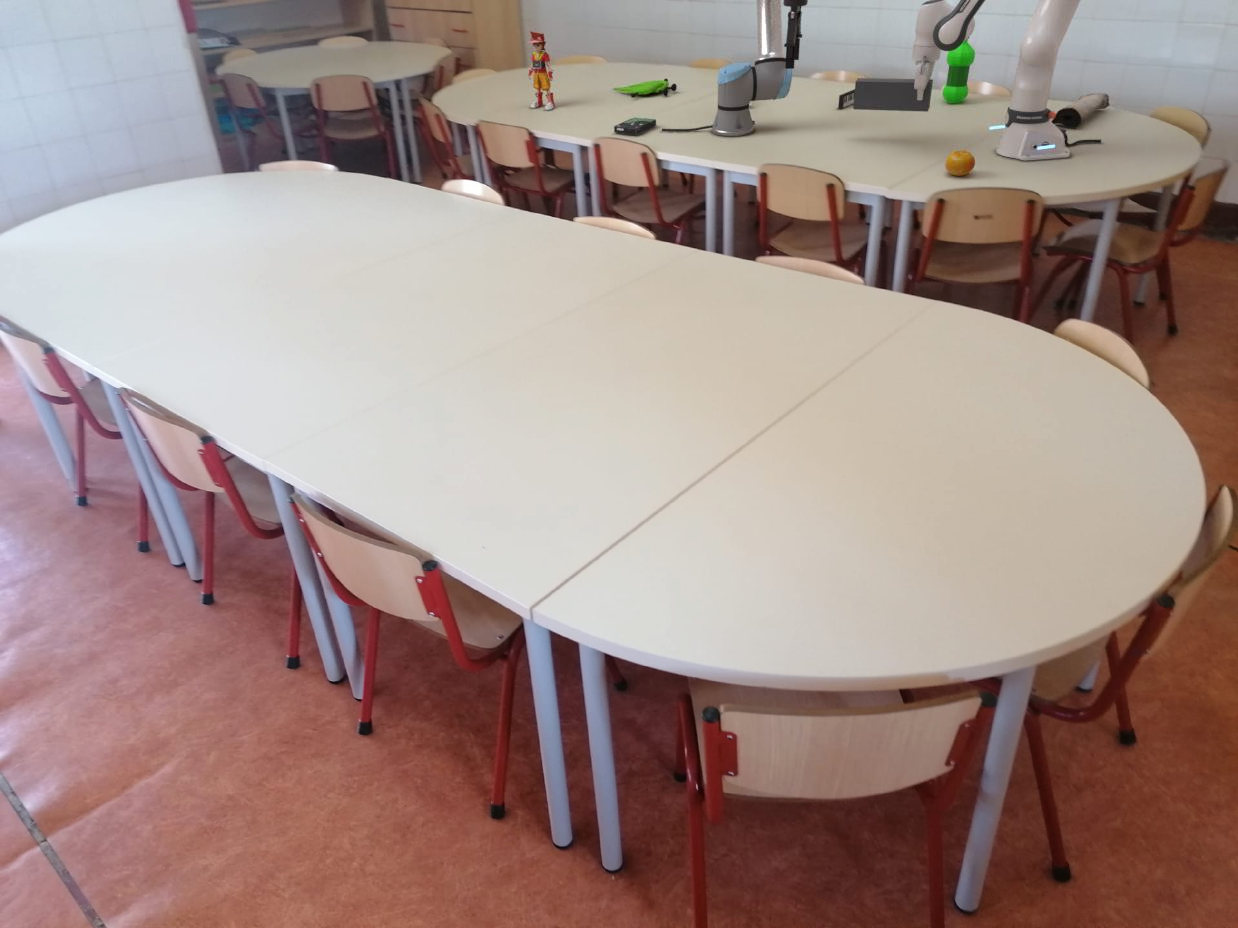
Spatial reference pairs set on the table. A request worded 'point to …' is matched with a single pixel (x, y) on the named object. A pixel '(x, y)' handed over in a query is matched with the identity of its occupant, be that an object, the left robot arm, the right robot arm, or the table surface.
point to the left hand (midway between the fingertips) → (792, 64)
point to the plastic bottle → (958, 72)
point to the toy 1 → (541, 71)
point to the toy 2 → (648, 88)
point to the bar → (890, 95)
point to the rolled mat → (1081, 109)
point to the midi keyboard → (846, 99)
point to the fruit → (960, 163)
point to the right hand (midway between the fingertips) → (921, 97)
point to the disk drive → (635, 126)
